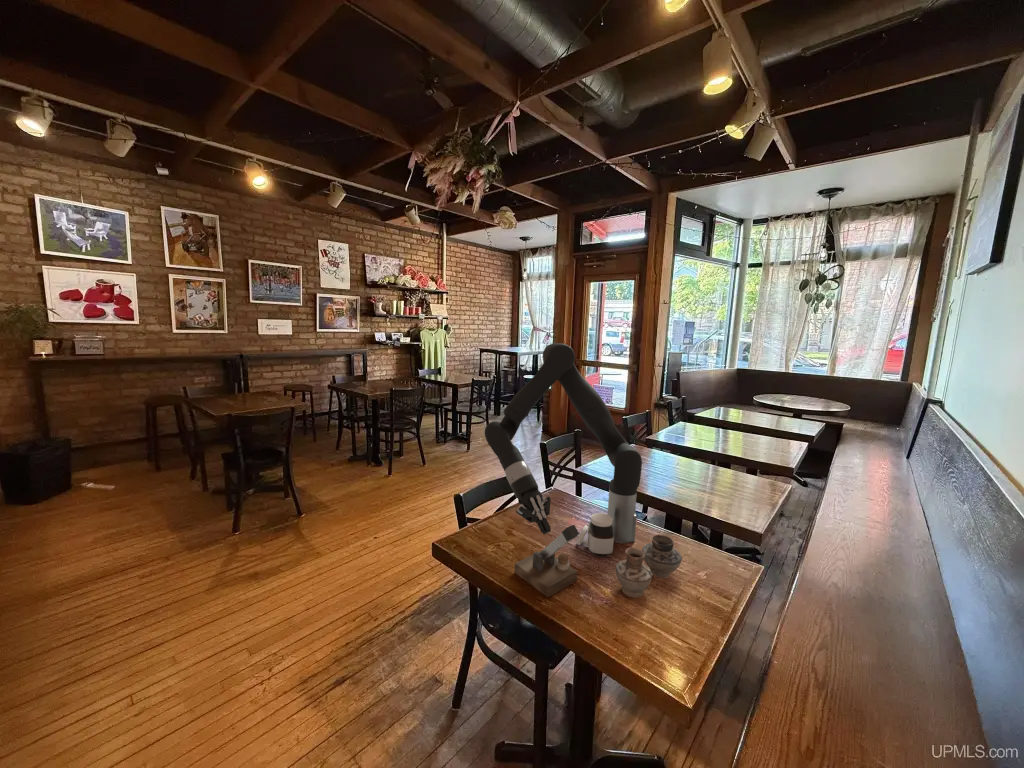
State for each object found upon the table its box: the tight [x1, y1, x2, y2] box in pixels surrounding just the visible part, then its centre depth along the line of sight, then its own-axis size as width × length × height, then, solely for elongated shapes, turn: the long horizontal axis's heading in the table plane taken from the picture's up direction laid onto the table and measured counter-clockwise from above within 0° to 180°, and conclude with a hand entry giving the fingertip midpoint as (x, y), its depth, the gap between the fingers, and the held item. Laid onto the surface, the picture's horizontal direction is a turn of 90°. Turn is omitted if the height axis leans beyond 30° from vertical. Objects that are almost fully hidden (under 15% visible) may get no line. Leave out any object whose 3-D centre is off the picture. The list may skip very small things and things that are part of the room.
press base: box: [514, 545, 578, 598], centre depth 120 cm, size 14×12×8 cm
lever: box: [539, 524, 580, 560], centre depth 115 cm, size 3×3×17 cm
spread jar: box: [576, 512, 614, 558], centre depth 135 cm, size 12×11×12 cm
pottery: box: [614, 534, 683, 599], centre depth 119 cm, size 11×25×12 cm, turn 130°
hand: (547, 532), depth 118 cm, fingers closed
